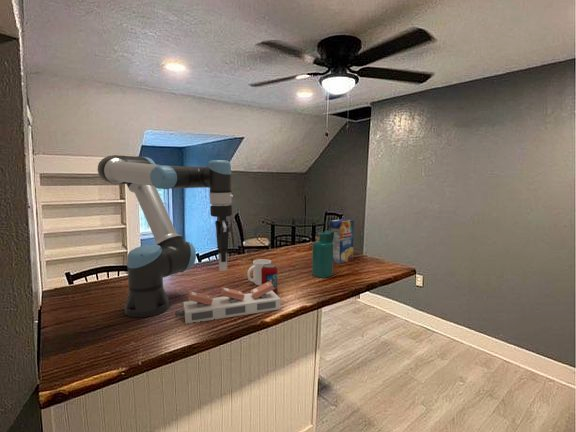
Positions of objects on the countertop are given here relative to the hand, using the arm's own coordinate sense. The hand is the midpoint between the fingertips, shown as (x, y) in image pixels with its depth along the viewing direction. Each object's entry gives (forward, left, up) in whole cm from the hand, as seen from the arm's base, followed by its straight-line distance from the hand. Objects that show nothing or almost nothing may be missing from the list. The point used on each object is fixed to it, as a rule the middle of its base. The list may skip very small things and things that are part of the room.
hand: (223, 269), depth 117 cm
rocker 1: (-8, 0, -9) cm, 13 cm away
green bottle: (+55, +27, -16) cm, 63 cm away
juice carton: (+77, +48, -16) cm, 92 cm away
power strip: (+2, 0, -16) cm, 16 cm away
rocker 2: (+3, 0, -9) cm, 10 cm away
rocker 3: (+15, 0, -9) cm, 17 cm away
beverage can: (+22, +13, -16) cm, 30 cm away
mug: (+21, +26, -16) cm, 37 cm away
